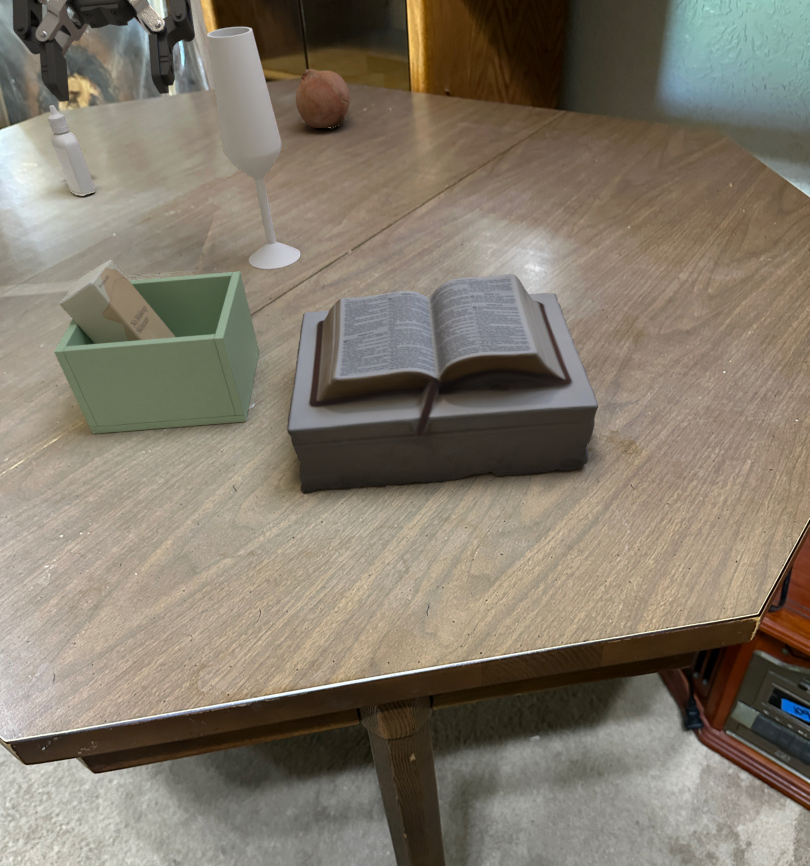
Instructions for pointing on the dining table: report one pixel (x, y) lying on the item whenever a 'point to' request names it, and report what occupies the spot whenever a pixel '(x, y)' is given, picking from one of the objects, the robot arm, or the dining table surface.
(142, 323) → the box
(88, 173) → the eye dropper bottle
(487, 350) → the bible
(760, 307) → the dining table surface
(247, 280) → the dining table surface
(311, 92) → the pomegranate
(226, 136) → the champagne flute
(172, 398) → the storage bin
